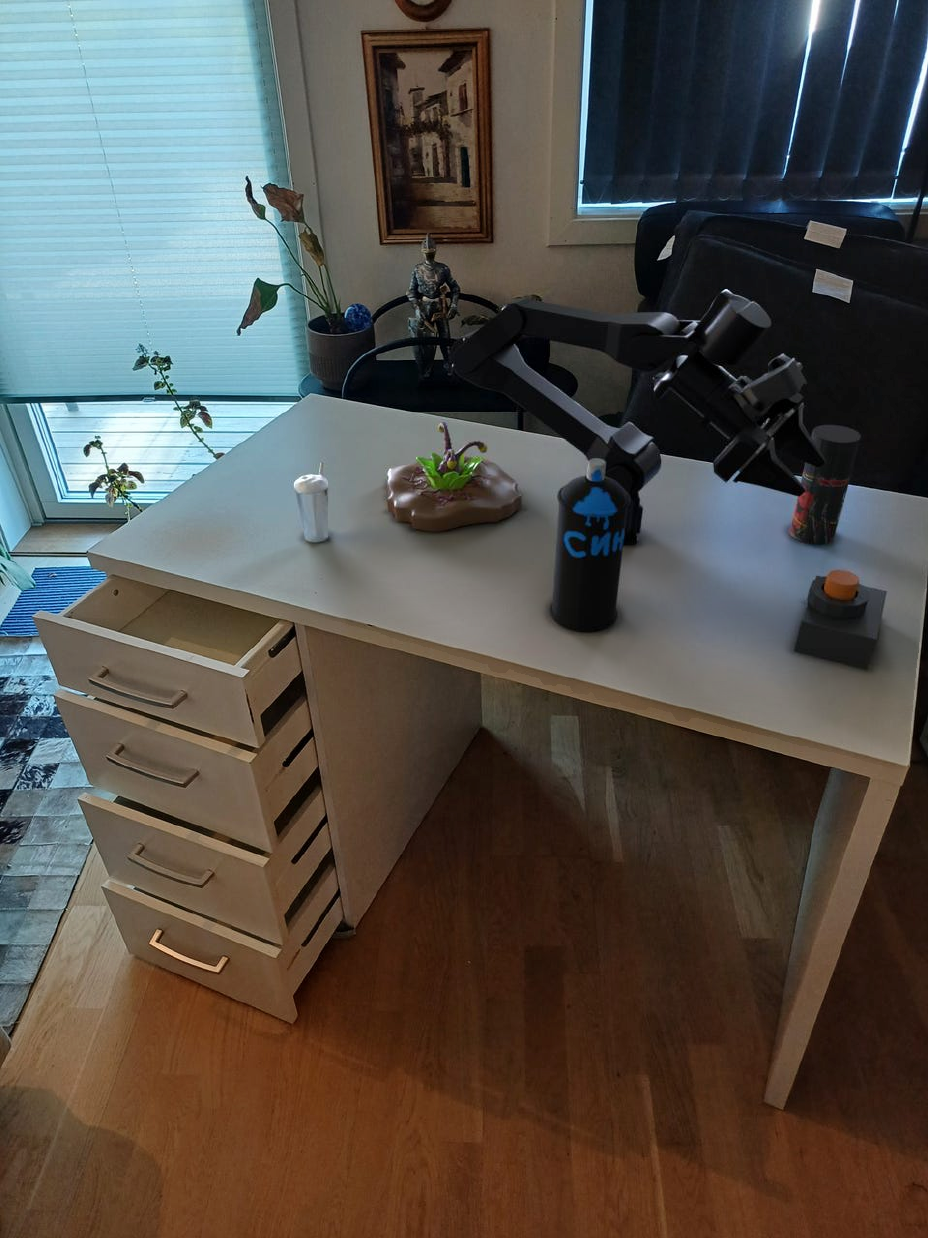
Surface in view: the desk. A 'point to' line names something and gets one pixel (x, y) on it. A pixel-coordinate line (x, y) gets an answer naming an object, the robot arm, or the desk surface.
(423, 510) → the plant
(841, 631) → the push button box
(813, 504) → the deodorant
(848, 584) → the orange push button
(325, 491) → the milkshake
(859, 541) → the desk surface
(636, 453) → the robot arm
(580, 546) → the aerosol can
